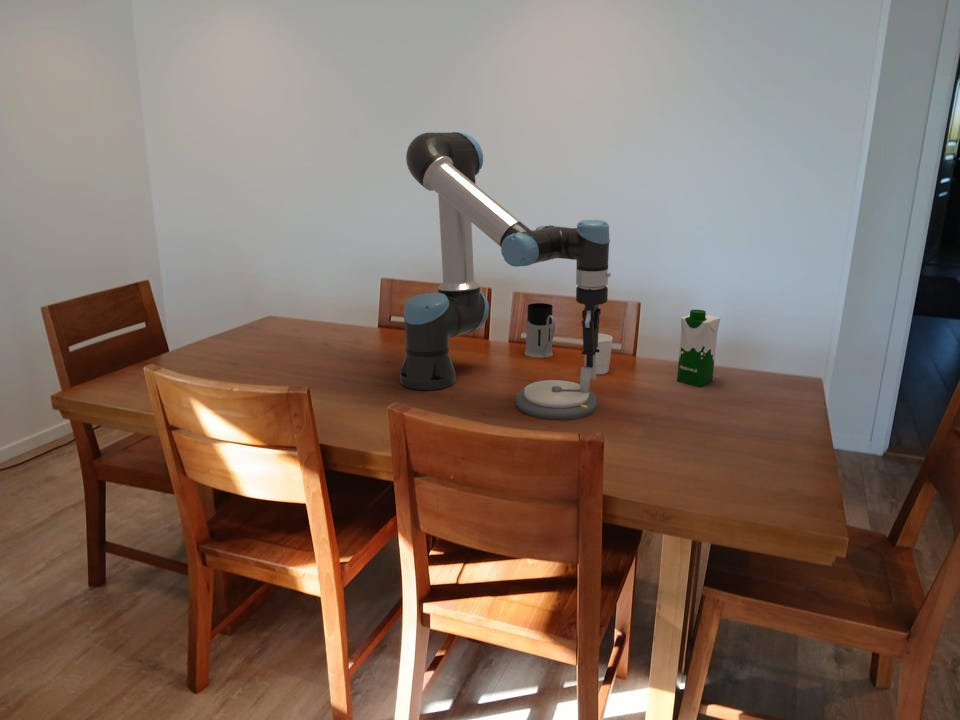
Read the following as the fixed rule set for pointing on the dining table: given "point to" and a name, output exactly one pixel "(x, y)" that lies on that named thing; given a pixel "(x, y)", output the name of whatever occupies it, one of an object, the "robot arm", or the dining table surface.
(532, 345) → the glass holder
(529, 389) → the cream crank wheel
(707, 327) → the milk carton
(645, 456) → the dining table surface
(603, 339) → the white cup
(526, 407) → the stand base
